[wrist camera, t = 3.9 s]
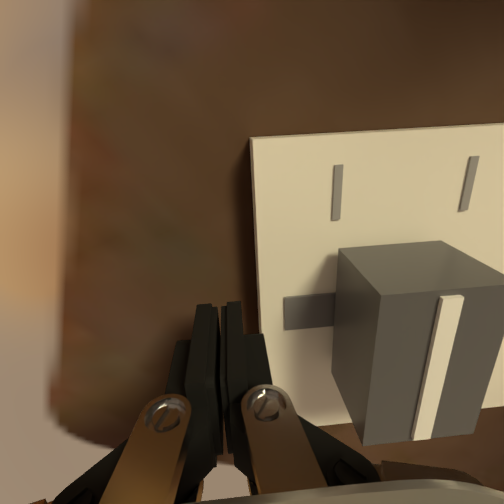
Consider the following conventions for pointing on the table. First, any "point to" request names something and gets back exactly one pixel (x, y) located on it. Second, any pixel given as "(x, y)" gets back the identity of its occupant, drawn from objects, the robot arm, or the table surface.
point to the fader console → (361, 232)
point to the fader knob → (414, 339)
